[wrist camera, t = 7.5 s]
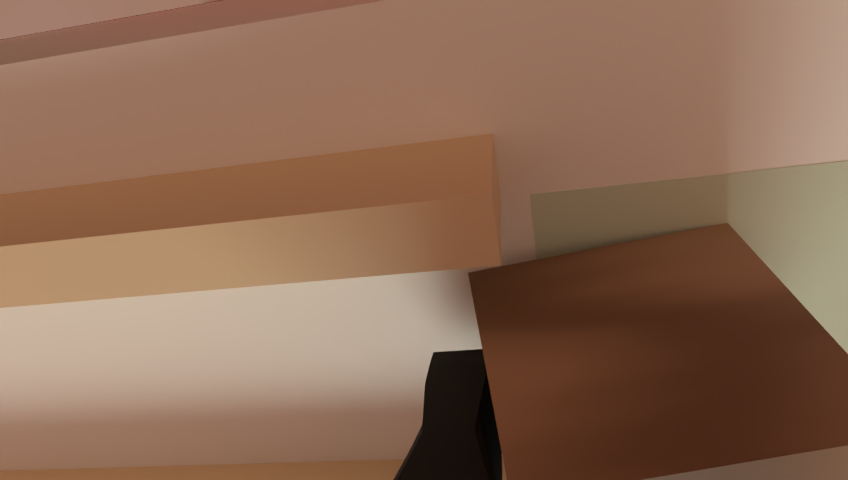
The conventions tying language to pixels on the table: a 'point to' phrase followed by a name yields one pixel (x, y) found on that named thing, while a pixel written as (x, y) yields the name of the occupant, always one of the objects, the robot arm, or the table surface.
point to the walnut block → (660, 365)
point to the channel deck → (368, 205)
